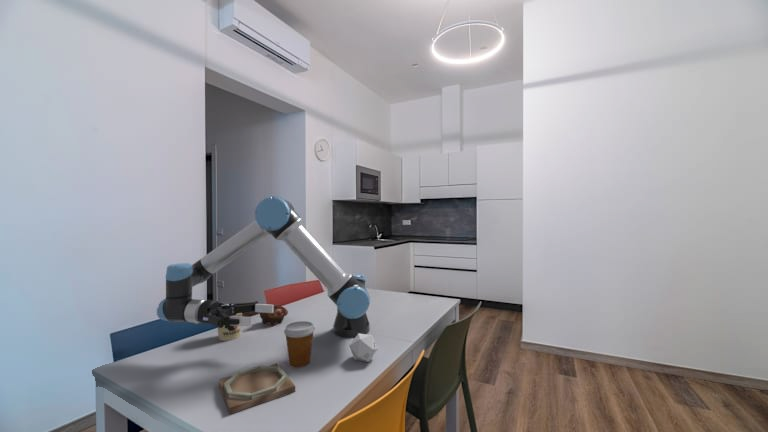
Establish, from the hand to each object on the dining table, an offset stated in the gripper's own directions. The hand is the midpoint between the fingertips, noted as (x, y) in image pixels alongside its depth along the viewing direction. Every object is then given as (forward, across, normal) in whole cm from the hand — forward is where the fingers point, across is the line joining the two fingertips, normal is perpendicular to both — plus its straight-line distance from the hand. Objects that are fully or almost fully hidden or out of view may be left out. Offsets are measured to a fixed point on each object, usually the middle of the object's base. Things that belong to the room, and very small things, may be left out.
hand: (262, 314), depth 100 cm
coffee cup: (-24, -17, -16) cm, 33 cm away
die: (+33, -6, -15) cm, 36 cm away
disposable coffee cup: (+13, 0, -15) cm, 20 cm away
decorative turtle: (-15, -35, -15) cm, 41 cm away
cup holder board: (+7, +15, -15) cm, 23 cm away
